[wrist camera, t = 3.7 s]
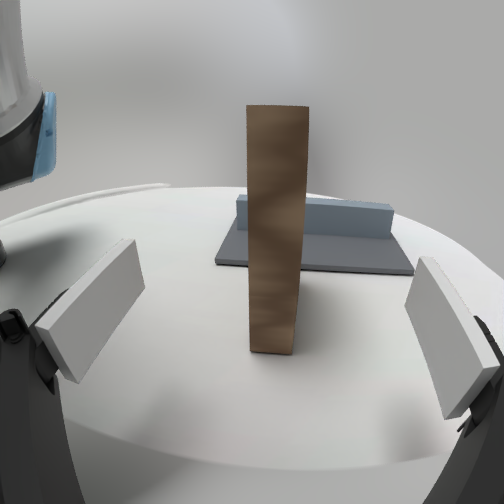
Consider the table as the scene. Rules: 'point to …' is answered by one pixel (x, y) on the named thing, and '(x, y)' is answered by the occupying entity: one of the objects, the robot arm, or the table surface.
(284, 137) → the brown notched block
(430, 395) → the table surface
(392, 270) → the grey plate with ridge
